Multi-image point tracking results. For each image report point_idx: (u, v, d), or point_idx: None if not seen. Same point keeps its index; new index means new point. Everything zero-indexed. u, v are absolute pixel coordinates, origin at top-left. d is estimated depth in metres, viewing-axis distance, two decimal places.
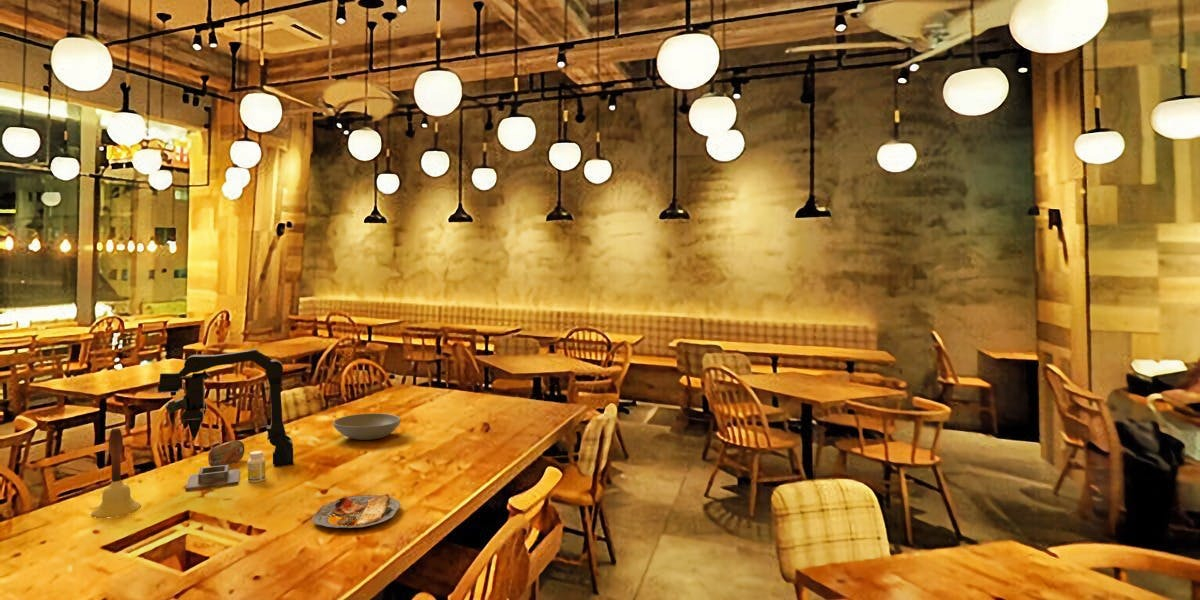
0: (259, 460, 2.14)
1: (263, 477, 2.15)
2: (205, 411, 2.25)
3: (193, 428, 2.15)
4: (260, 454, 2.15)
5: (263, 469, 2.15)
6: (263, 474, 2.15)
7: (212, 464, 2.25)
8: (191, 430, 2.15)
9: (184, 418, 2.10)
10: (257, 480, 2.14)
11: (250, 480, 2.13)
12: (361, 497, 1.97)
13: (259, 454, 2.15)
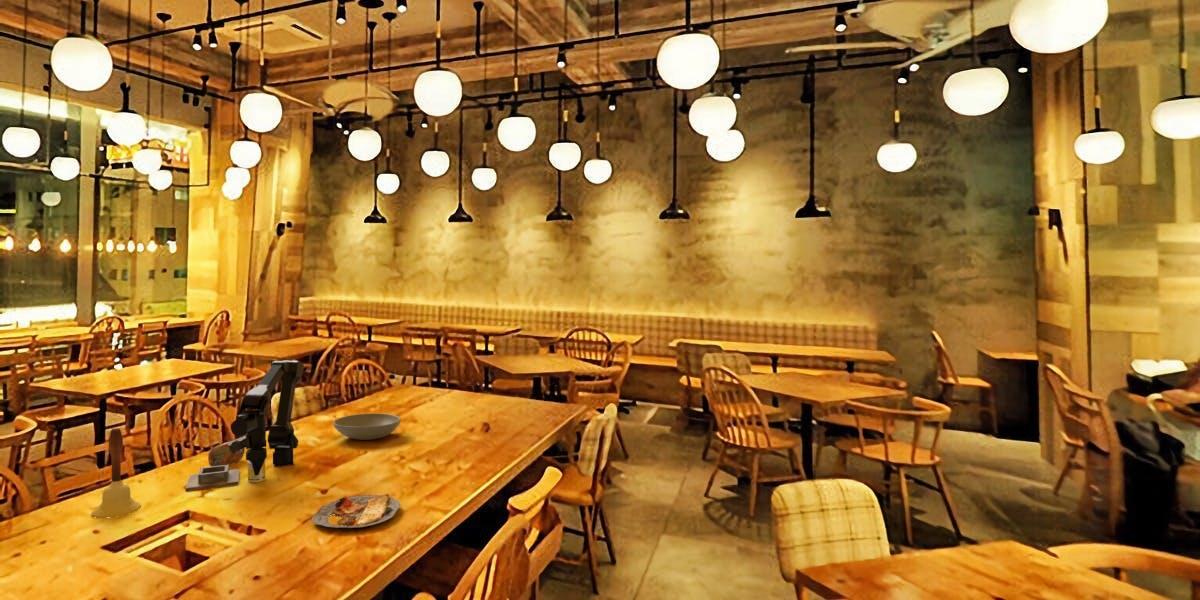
0: None
1: (263, 477, 2.15)
2: None
3: (256, 466, 2.12)
4: None
5: (263, 469, 2.15)
6: (263, 474, 2.15)
7: (212, 464, 2.25)
8: (254, 468, 2.12)
9: (248, 458, 2.06)
10: (257, 480, 2.14)
11: (250, 480, 2.13)
12: (361, 497, 1.97)
13: None
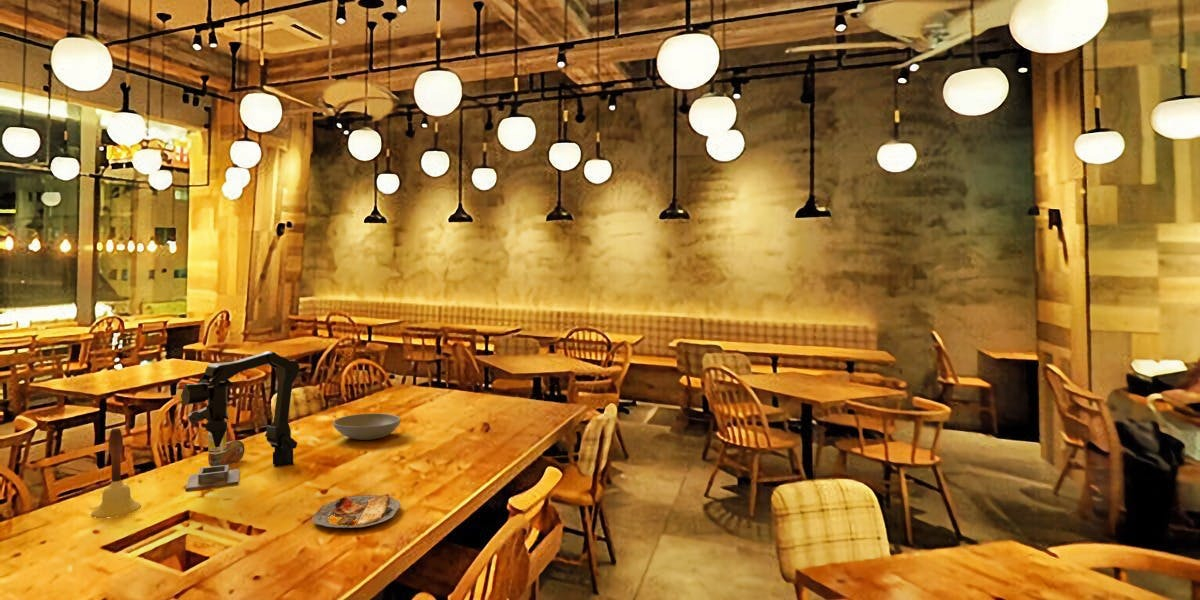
0: None
1: (224, 449, 2.13)
2: None
3: (217, 438, 2.10)
4: None
5: (224, 441, 2.13)
6: (224, 446, 2.13)
7: (212, 464, 2.25)
8: (214, 440, 2.10)
9: (208, 429, 2.04)
10: (218, 452, 2.11)
11: (210, 452, 2.11)
12: (361, 497, 1.97)
13: None
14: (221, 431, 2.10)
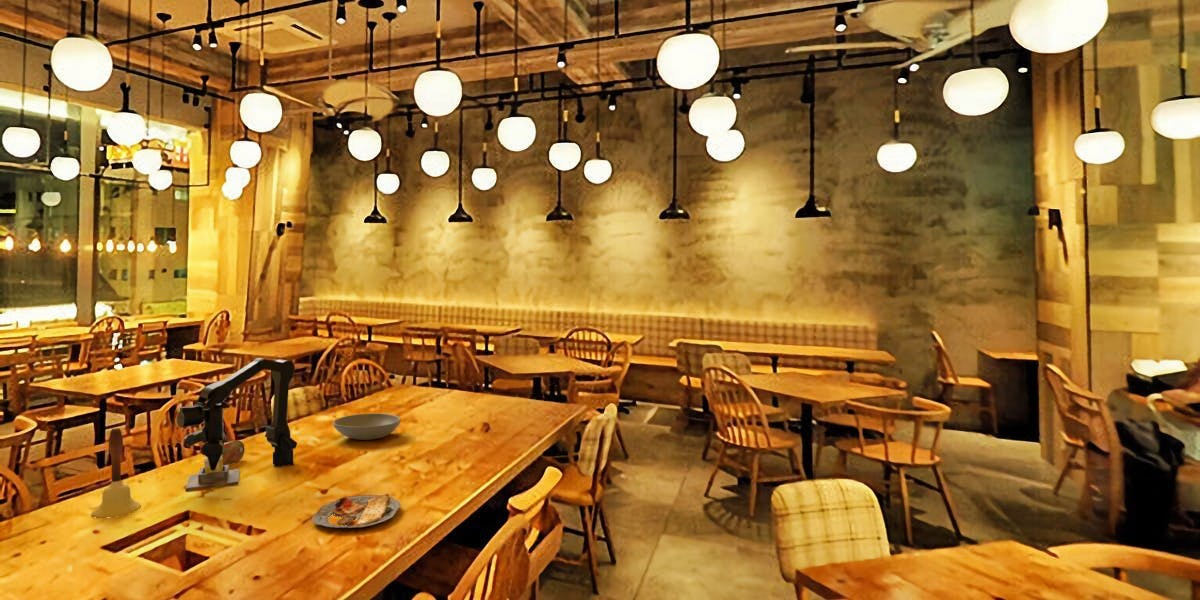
0: None
1: None
2: None
3: (212, 461, 2.09)
4: None
5: (220, 467, 2.14)
6: None
7: None
8: (210, 463, 2.09)
9: (203, 452, 2.04)
10: None
11: None
12: (361, 497, 1.97)
13: None
14: (217, 454, 2.09)
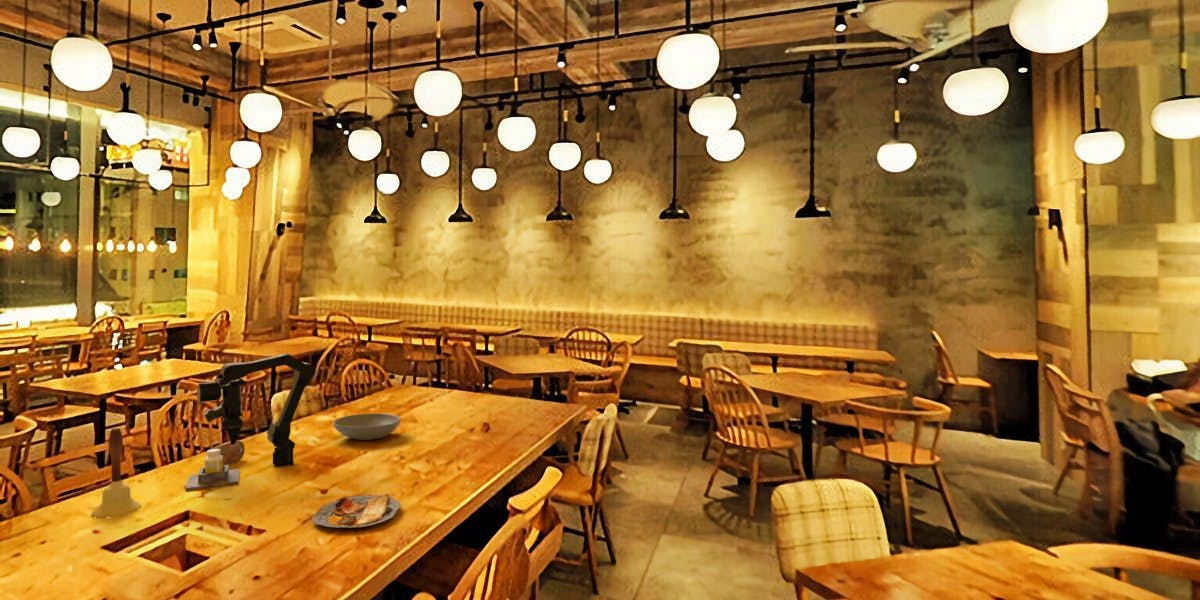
0: (217, 458, 2.12)
1: None
2: (241, 418, 2.28)
3: (232, 436, 2.17)
4: (217, 452, 2.13)
5: (220, 467, 2.13)
6: None
7: None
8: (231, 438, 2.17)
9: (224, 426, 2.13)
10: None
11: None
12: (361, 497, 1.97)
13: (216, 452, 2.13)
14: (237, 429, 2.17)
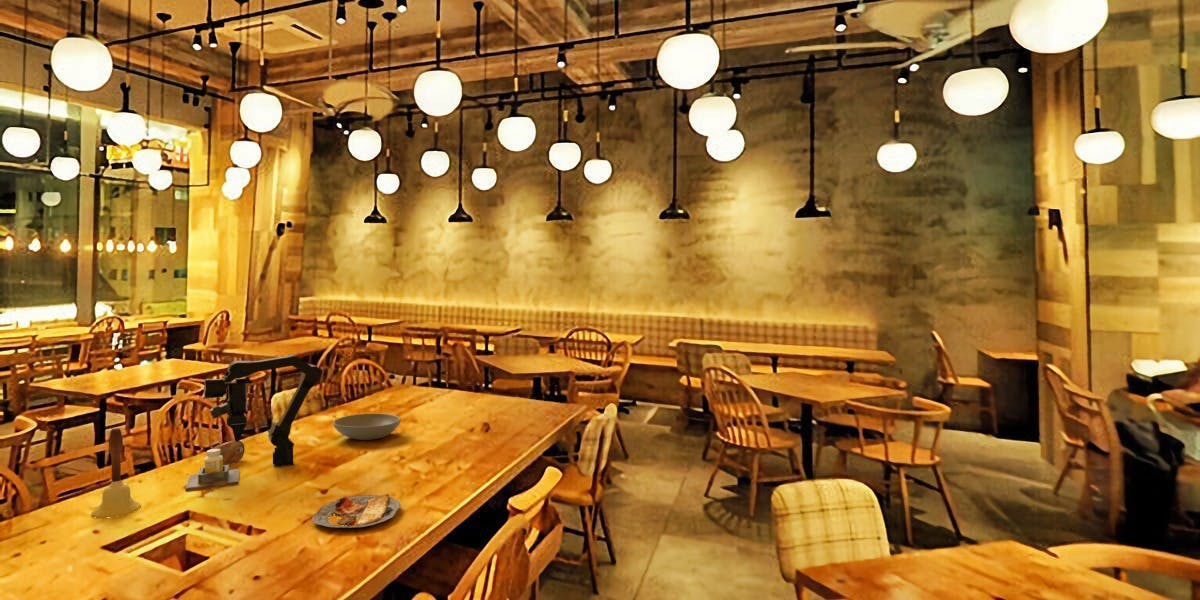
0: (216, 458, 2.12)
1: None
2: None
3: (237, 433, 2.20)
4: (217, 452, 2.13)
5: (220, 467, 2.13)
6: None
7: None
8: (235, 435, 2.19)
9: (229, 423, 2.15)
10: None
11: None
12: (361, 497, 1.97)
13: (216, 452, 2.13)
14: (241, 426, 2.20)
